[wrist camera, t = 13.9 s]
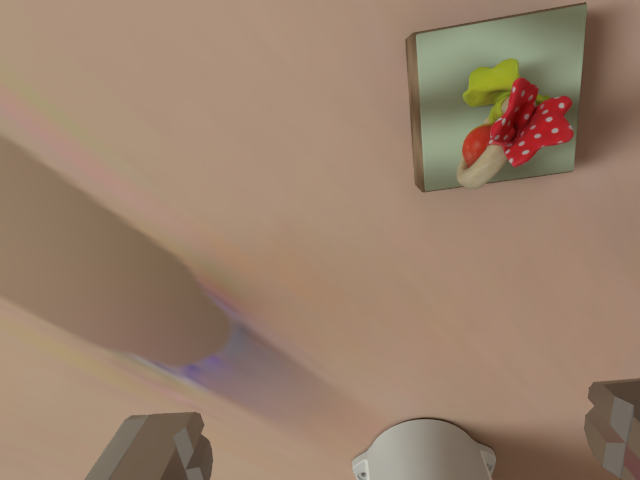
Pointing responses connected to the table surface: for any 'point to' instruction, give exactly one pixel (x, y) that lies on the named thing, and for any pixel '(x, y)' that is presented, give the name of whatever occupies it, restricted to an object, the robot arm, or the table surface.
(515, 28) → the sage green square tile
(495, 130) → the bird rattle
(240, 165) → the table surface
